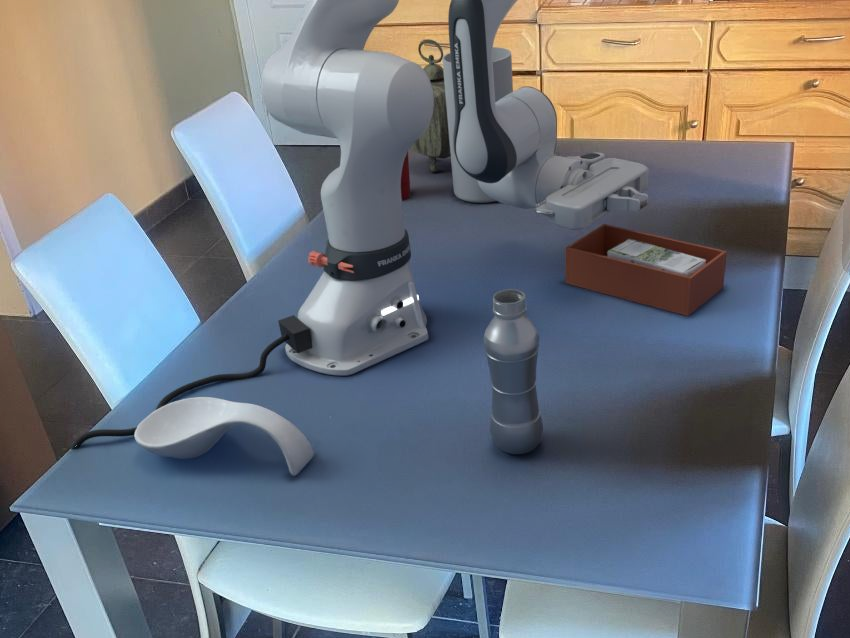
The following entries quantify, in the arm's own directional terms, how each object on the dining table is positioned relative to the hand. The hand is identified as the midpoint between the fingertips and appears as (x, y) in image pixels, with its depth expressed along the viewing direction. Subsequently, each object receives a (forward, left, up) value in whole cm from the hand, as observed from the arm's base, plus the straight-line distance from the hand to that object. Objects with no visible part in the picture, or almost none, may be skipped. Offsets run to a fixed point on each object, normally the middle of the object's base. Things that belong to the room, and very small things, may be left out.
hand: (643, 203), depth 139 cm
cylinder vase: (+20, +47, -13) cm, 53 cm away
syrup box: (-1, +4, -10) cm, 10 cm away
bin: (0, -1, -13) cm, 13 cm away
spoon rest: (-68, +20, -13) cm, 72 cm away
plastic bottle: (-46, -11, -13) cm, 49 cm away
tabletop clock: (+26, +64, -13) cm, 71 cm away
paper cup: (+10, +62, -13) cm, 65 cm away
